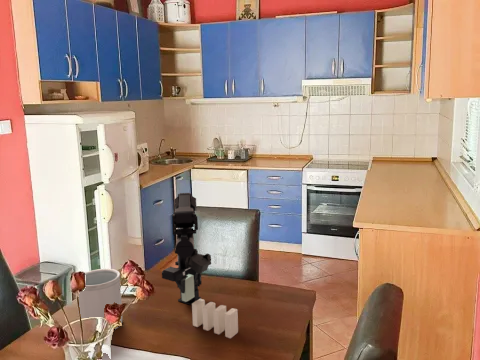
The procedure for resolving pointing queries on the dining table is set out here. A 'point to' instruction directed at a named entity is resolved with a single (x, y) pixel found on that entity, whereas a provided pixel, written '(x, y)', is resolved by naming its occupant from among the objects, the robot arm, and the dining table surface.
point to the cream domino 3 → (219, 319)
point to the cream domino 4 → (231, 323)
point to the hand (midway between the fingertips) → (187, 290)
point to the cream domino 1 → (198, 312)
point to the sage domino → (188, 288)
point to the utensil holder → (99, 292)
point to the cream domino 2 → (208, 316)
